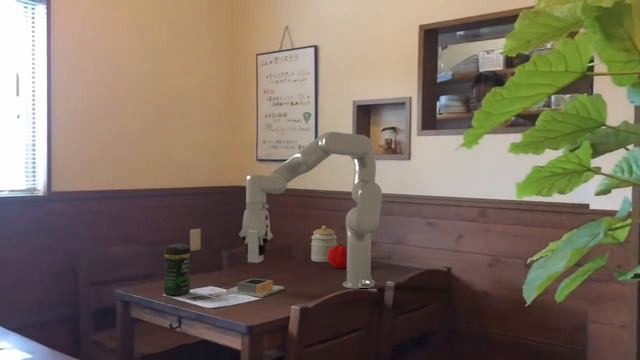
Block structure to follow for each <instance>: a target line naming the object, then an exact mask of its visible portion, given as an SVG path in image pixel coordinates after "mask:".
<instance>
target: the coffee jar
mask: <svg viewBox="0 0 640 360" xmlns="http://www.w3.org/2000/svg"><path fill="white" fill-rule="evenodd" d="M190 256H191V247H190V245H189V244H187V243H175V244H170V245H167V246H166V247H165V248H164V259H165V270H164V284H163V294H165V295H167V296H169V295H173V296H183V295H186V294H188V293H190V291H191V283H190V282H191V281H190ZM182 294H183V295H182Z"/></svg>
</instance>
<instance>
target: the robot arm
mask: <svg viewBox="0 0 640 360" xmlns="http://www.w3.org/2000/svg"><path fill="white" fill-rule="evenodd" d="M372 150H373V142H372V140H371V139H370V138H369V137H368V136H367V135H364V134H357V133H347V132H337V131H329V132H324V133H322V134H321V135H319V136H318V137H317V138H315V139H314V140H312V142H310V143H309V144H307V145H306V146H304V148H302V149H301V150H299V151H298V152H297V153H296V154H294V155H293V156H292V157H290V158H289V159H287V160H286V161H284V162H283V163H282V164H280V165H279V166H278V167H276V168H275V169H274V170H273V171H272V172H270V173H269V174H268V175H265V174H247V176H246V185H245V186H246V187H245V188H246V189H245V191H246V192H245V194H246V195H245V196H246V197H245V198H246V199H245V210H244V213H243V216H242V217H243V218H242V228H241V230H240V232H239V233H238V236H240V238H241V239H242V240H243V242H244V244H246V245H245V251H246V255H248V231H258V236H259V240H260V245H259V255H260V256H261V255H263V256H265V253H266V245H267V243H268V242H269V241H270V240H271V239H272V238H274V235H273V233H272V232H271V223H270V220H271V219H270V214H269V211H268V210H267V209H268V208H269V204H268V203H267V194H272V195H280V194H282V193H284V192H285V191H286V190H287V188H288V184H289V183H290V182H291V181H293V180H294V179H296V178H297V177H299V176H302V175H304V174H307V173H308V172H310V171H312V170H313V169H315V168H316V167H317V166H318V165H320V164H321V163H322V162H323V161H325V160H327V158H329V157H331V156H332V155H339V156H348V157H350V158H351V159H352V161H353V164H354V169H353V171H354V174H353V181H352V187H351V198H352V200H353V201H355V202H356V203H357V205H356V207H352V208H351V209H350V210H349V211H348V212H347V214H346V216H345V226H346V227H345V228H346V243H347V244H346V246H347V267H346V280H345V281H343V282H342V286H343V287H344V288H346V289H353V290H360V289H359V288H368V289H372V288H374V287H375V284H376V281H375V280H374V279H373V276H372V275H371V273H372V270H371V268H372V267H371V265H372V263H371V262H372V261H371V260H372V252H371V251H372V238H371V237H372V236H371V233H373V232H374V231H375V230H376V229H377V228H378V226H379V223H380V217H381V210H382V204H383V203H382V202H383V193H382V191H383V190H382V189H381V186H380V185H379V184H378V183H377V182H376V174H377V173H376V172H377V161H376V159H375V155H374V153H373V152H372ZM371 287H372V288H371Z"/></svg>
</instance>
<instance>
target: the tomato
mask: <svg viewBox="0 0 640 360" xmlns="http://www.w3.org/2000/svg"><path fill="white" fill-rule="evenodd" d="M328 261H329V262H328V263H329V264H330V265H331V266H332V267H333V268H337V269H347V245H343V244H339V245H337V246H334V247H332V248H331V249H330V251H329V254H328Z"/></svg>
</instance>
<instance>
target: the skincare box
mask: <svg viewBox="0 0 640 360" xmlns="http://www.w3.org/2000/svg"><path fill="white" fill-rule="evenodd" d="M259 245H260V240H259V236H258V231H248V254H247V262H248V263H256V264H258V263H260V262H262V261H264V255H261V256H260V255H259Z"/></svg>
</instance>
